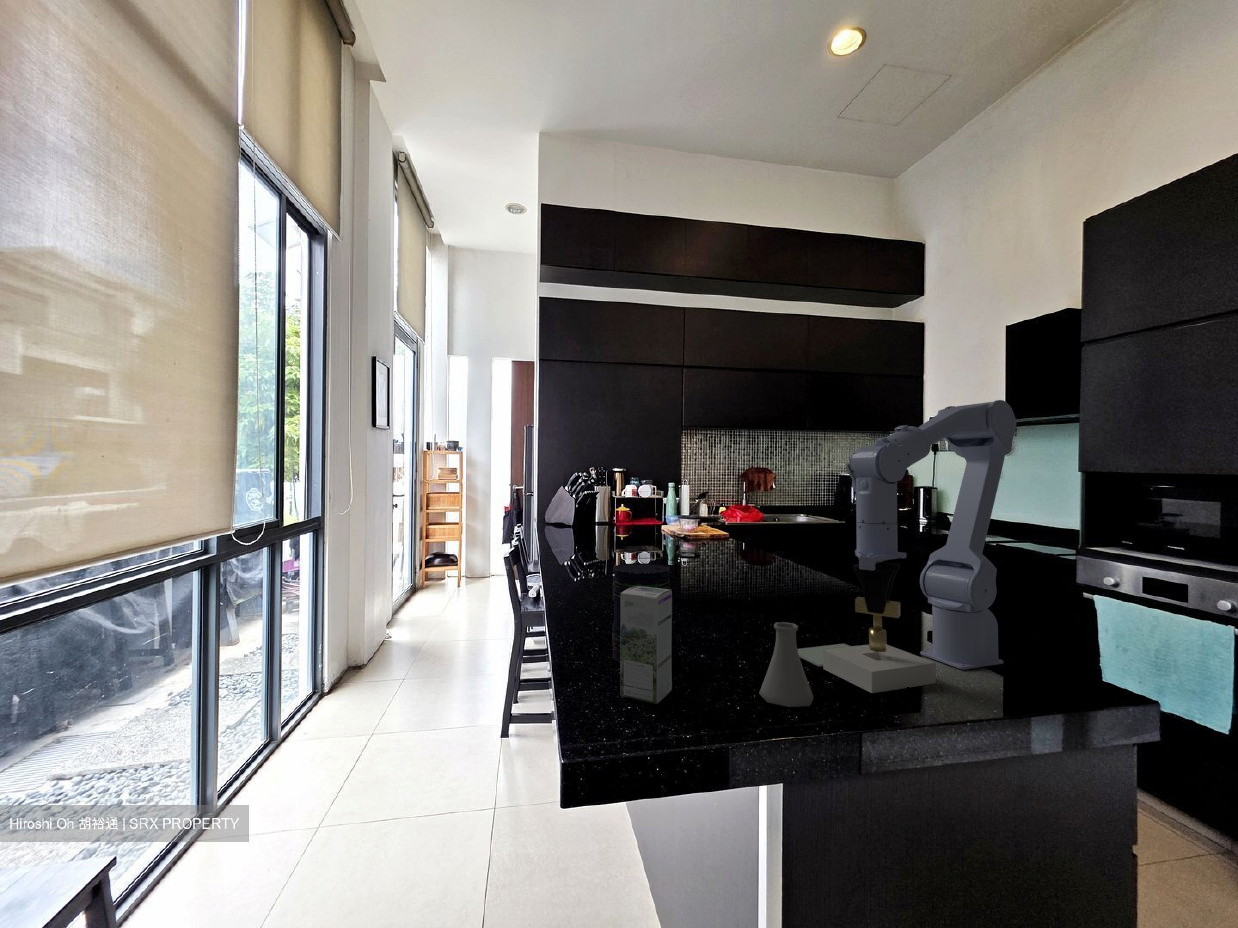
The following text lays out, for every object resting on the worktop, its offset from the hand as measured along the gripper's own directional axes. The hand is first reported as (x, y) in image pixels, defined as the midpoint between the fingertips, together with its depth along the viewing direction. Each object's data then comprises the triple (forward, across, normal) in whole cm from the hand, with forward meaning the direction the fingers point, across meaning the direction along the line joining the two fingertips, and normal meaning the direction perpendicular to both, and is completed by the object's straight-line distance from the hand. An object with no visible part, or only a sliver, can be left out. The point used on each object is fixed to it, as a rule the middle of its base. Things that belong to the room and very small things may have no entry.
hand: (877, 611), depth 81 cm
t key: (+6, 0, 0) cm, 6 cm away
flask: (+10, -17, +8) cm, 21 cm away
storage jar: (+10, -15, +34) cm, 38 cm away
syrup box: (+10, -28, +24) cm, 38 cm away
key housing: (+10, 0, 0) cm, 10 cm away
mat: (+10, +6, +8) cm, 14 cm away
